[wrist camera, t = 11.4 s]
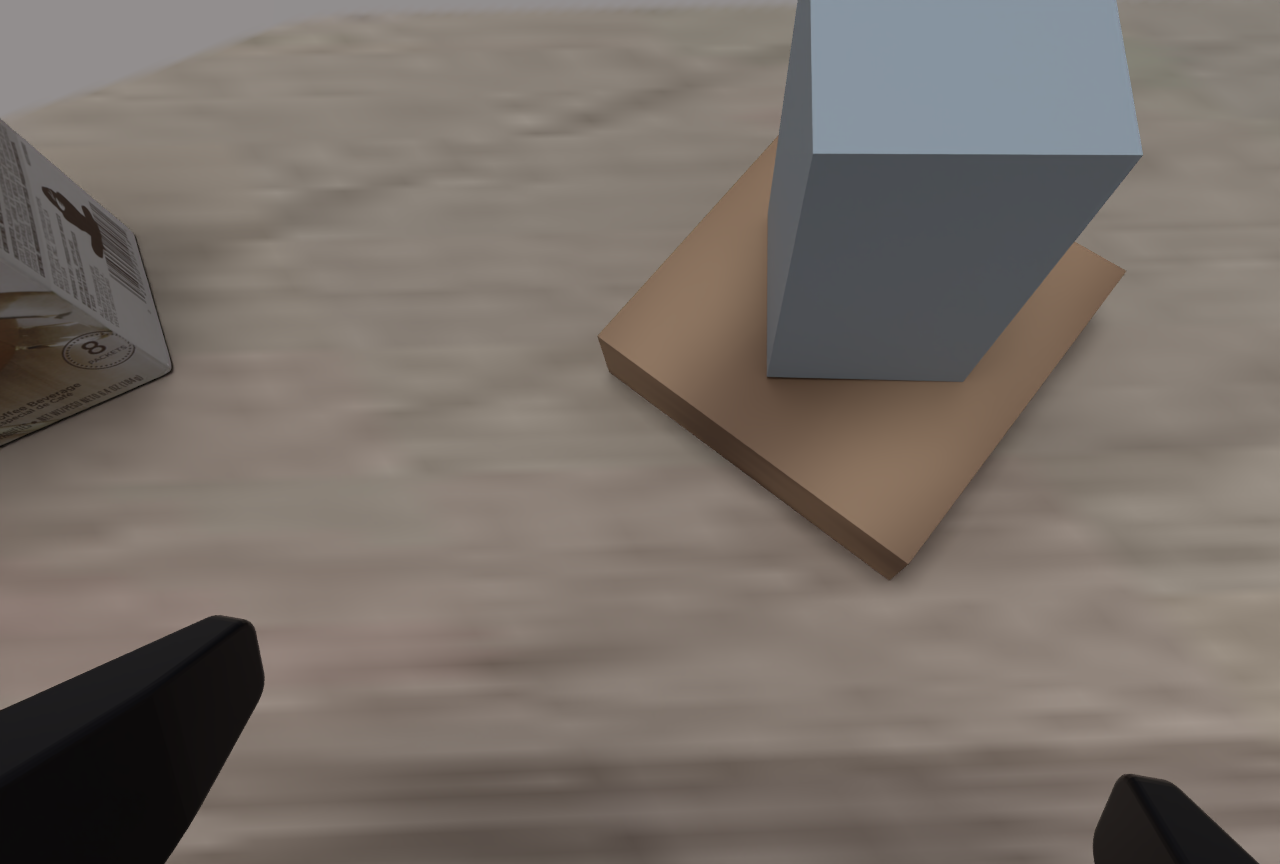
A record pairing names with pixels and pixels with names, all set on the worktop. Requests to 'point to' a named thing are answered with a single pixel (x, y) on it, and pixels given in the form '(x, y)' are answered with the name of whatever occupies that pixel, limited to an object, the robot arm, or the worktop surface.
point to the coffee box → (66, 297)
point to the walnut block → (832, 385)
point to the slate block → (935, 175)
